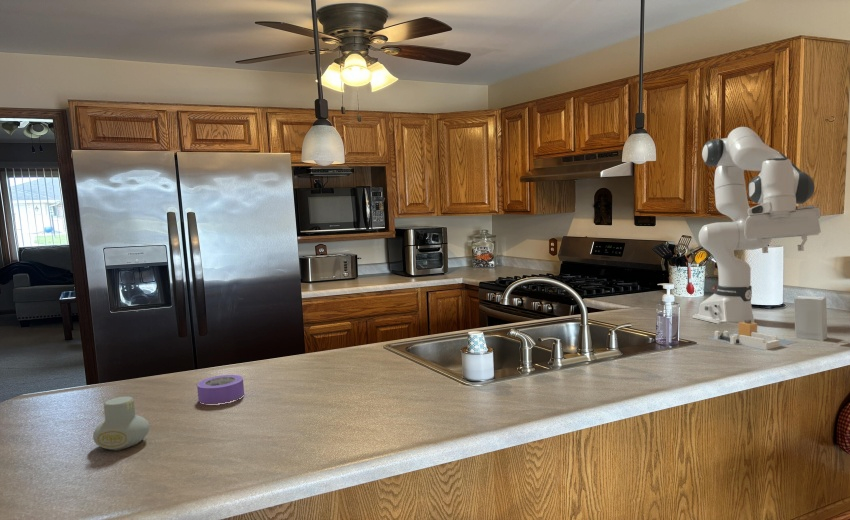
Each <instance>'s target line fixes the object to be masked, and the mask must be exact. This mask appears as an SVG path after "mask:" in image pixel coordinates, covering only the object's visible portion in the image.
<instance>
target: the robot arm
mask: <svg viewBox="0 0 850 520" xmlns="http://www.w3.org/2000/svg"><path fill="white" fill-rule="evenodd" d="M701 152H702V153H701V157H702V159H703V160H702V161H703V163H704V164H705V165H706V166H708V167H716V169H715V172H714V183H713V187H714V188H713V189H714V197H715V200H714V201H715V208H716V209H717V211H718V212H719V213H720V214H722V215H724V216H727V217H728V218H730V219H731V221H726V222H725V221H723V222H718V221H717V222H712V223H708V224H705V225H703V226H702V227H701V228H700V230H699V232H698V241H699V245H701V246H702V248H703V249H705V250H706V251H707V252H709V253H710V254H711V255H712V257H713V258H714V260H715V263H716V266H717V273H718V274H717V275H718V276H717V277H718V284H717V285H715V286H713V287H712V289H711V290H714V293H713V294H711V296H709V297H707V298H706V299H704V300H703V301H701V302H700V304H699V308H698V312H697V313H694V314H693V315H692V318H693V319H697V320H701V321H705V322H710V323H713V324H724V323H738V324H739V323H740V322H745V320H751V322H753V323H756V322H755V318H754V314H753V309H752V308H753V306H752V297H753V295H752V294H753V291H752V285H751V274H752V273H751V271H752V270H751V266H750V264H749V263H748V262H746V261H745V260H742V259H741V258H739V257H736V256H735V255H736V254H735V251H745V250H749V251H752V250H754V251H755V250H758V249H761V251H762V254H769V247H768V246H769V245H770V243H771V242H772V240H773V239H780V238H782V239H783V238H784V239H785V238H795V237H800V238H801V240H802V241H801V242H800V244H797V252H802V251H803V252H804V251H805V250H804V249H805V248H804V246H805V244H806V242H807V240H808V237H811V236H818V235H819V234H820V233H821V232H822V231H821V225H820V221H819V219H820V218H821V215H822V214H821V213H822V212H821V208H820V207H819V206H817V205H815V204H809V205H802V204H804V203H806V202H807V201H808V200H810V199H811V198H812V197H813V196H814V192H815V182H814V180H813V178H812V177H811V176H810V175H809V174H808V173H807V172H804V171H802V170H801V169H800V168H798V167H797V166H796V164H795V163H793V162H792V161H791V159H790V158H788V156H786V155H785V154H784V153H782V152H781V151H778V150H777V149H774V148H772V147H770V146H769V145H767V144H766V142H765V141H764V139H763V138H762V137H760V135H758V134H757V133H756V132H755V131H754V130H753V129H752V128H750V127H747V126H739V127H736V128H734V129H732V130H731V131H730V132H729V133H728V135H727V137H724V138H714V139H710V140H707V141H706V143H704V146H703V148H702V151H701ZM745 171H754V172H759V173H758V175H756V176H754V177H753V178H752V179H751V180H750V181H748V184H747V186H746V180H745V175H744V174H745ZM746 187H747V188H746ZM747 192H748V195H747ZM748 198H749V199H750V200H751V201H752V202H753V203H754V204H757V205H755V206H752V207H751V206H750V205H749V204H750V203H749V200H748ZM797 204H798V205H797Z"/></svg>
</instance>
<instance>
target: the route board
mask: <svg viewBox="0 0 850 520" xmlns="http://www.w3.org/2000/svg"><path fill="white" fill-rule="evenodd" d="M713 335H714V336H713V337H709V338H708V337H707V338H706V340H710V341H715V342H719V343H720V342H722V343H726V344H730V345H734V346H739V347H745V348H749V349H754V350H759V351H767V350H771V349H775V348H781V347H784V346H789V345H792V344H796V343H798V341H793V340H789V339H788V340H787V339H783V338H778V336H777V335H771V334H765V333H759V332H757V333H755V332H751V337H750V336H745V335H738V331H737V332H732V333H730V331H728V330H723V332H722V333H721V331H719V330H715V331H714V334H713Z"/></svg>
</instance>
